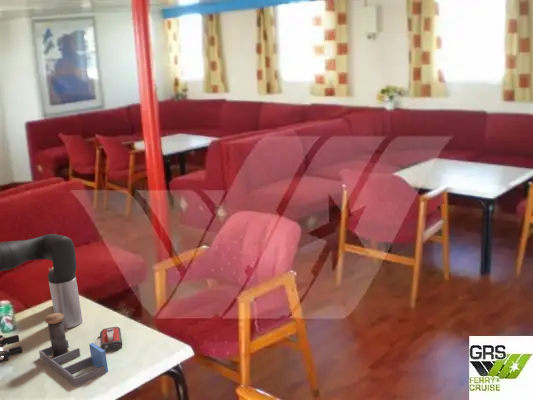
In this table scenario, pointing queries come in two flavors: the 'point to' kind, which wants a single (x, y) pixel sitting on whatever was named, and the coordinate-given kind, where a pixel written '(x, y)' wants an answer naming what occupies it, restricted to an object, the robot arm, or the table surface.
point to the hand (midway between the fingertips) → (20, 343)
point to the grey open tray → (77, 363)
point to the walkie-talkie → (110, 339)
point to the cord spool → (57, 334)
